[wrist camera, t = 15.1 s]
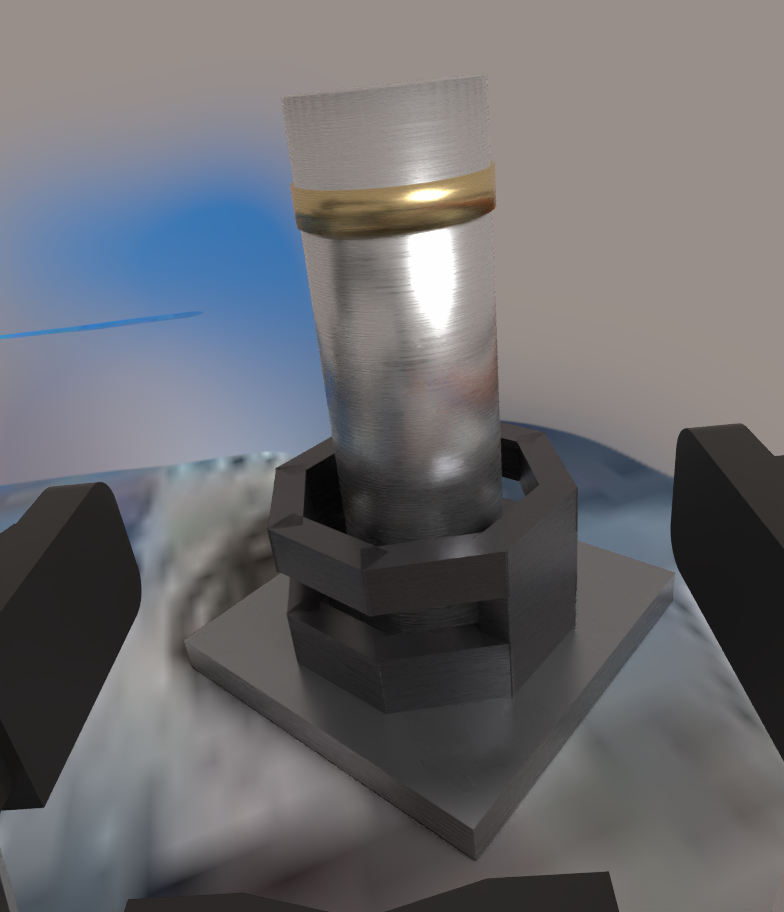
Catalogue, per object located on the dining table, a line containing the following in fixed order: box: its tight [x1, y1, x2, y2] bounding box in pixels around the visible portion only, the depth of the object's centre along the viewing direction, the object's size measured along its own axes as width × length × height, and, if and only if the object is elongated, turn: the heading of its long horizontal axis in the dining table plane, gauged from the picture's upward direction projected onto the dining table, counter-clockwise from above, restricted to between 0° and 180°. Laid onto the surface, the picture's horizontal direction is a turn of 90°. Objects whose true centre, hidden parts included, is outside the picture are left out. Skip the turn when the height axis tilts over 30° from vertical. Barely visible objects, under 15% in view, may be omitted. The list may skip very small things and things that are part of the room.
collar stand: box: [184, 422, 675, 860], centre depth 25 cm, size 12×12×6 cm
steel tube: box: [281, 74, 503, 636], centre depth 22 cm, size 5×5×16 cm
